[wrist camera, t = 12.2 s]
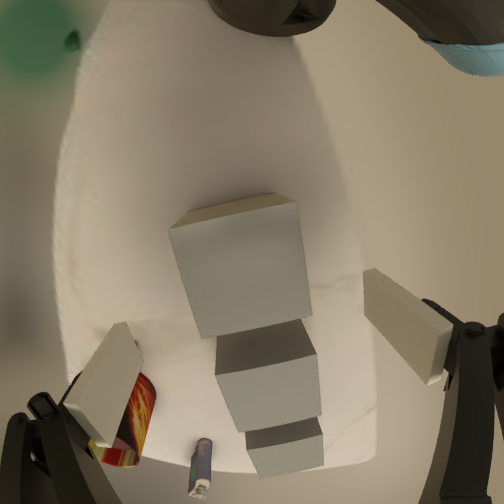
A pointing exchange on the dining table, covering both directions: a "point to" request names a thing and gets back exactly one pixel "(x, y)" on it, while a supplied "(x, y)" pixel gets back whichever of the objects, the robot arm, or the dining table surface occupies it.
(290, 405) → the pale gray cube
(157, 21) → the dining table surface
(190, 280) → the pale grey cube
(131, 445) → the mug
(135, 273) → the dining table surface
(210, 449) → the flask
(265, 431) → the large plain grey block
